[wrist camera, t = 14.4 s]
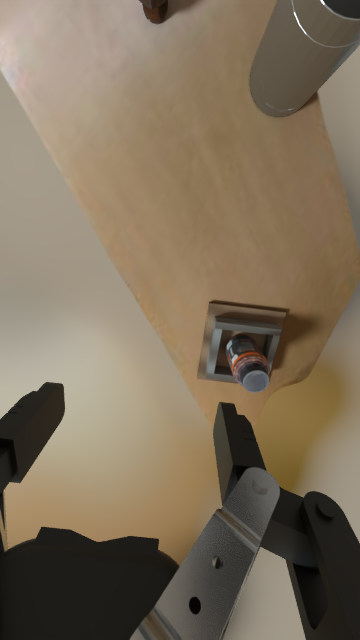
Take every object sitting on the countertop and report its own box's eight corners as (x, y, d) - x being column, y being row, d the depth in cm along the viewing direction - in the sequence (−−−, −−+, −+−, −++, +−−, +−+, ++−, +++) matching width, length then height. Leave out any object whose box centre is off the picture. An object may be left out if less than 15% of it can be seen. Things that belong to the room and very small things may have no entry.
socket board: (209, 302, 45) (211, 308, 41) (284, 311, 45) (293, 318, 41) (197, 376, 50) (197, 387, 46) (263, 383, 50) (270, 396, 47)
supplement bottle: (218, 343, 46) (228, 377, 36) (245, 327, 45) (264, 356, 35) (235, 366, 48) (249, 404, 37) (261, 350, 47) (283, 385, 36)
